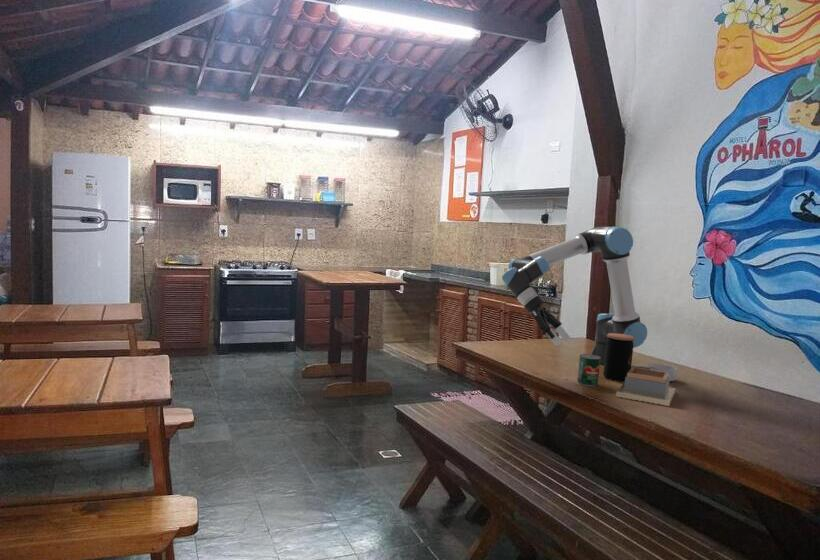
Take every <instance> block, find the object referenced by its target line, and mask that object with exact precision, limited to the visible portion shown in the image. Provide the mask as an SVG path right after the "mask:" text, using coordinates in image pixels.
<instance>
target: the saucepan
mask: <svg viewBox="0 0 820 560" xmlns="http://www.w3.org/2000/svg"><path fill="white" fill-rule="evenodd" d="M632 367H636V368H642V369H649V370H655V371H661V372H668V373H669V377H670V381H672V382H673V381H676V379H677V370H678V367H676V366H672V365H669V364H664V363H663V364H662V363H649V364H648V366H640V365H639V366H638V365H631V368H632Z"/></svg>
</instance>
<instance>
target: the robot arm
mask: <svg viewBox="0 0 820 560" xmlns="http://www.w3.org/2000/svg"><path fill="white" fill-rule="evenodd" d="M633 246H634V237H633V235H632V233H631V231H630V230H628V229H627V228H625V227H622V226H621V227H620V226H596V227H592V228H590V229H587V230H585V231H582V232H580V233H578V234H575V236H574V237H573V238H571V239H568V240H566V241H563V242H560V243H557V244H555V245H552V246H549V247H546V248H543V249H541V250H539V251H538V250H537V251H536V252H533V253H531V254H529V255H525V256H523V257H515V258H513V259H511V260H510V261H509V263H508V270H506V271H505V272H504V273H503V275H502V276H501V280H502V281H503V283H504V284H505V285H506V287H507V288H508V289H509V290H510V291H511V293H512V294H513V295H514V296H515V298H516V300H517V302H518V303H520V304H521V305H522V306H524V307H523V308H524V309H525V310H526V312H527V313H528V314H531V315H532V317H533V318H534V320H535V321H536V323H537V325H538V327H539V328H540V329H539V330H541V332H542V334H543V335H545V334H546V335H547V337H548V338H549V339H550V340H551V341H552V343H553V344H554V346H556V347H558V346H559V345H561V344H562V343H563V342H562V340H563V341H564V342H565V343H566V342H567V341H568V340H570V339H571V337H570V335H569V334H568V332H567V331H566V330H565V329H564V327H563V326H562V322H561V321H560V320H558V319H557V318H556V317H555V315H553V314H552V313H551V312H550V311H549V310H548V309H547V308H546V306H544V307H543V306H542V305H543V304H544V300H543V299H542V298H541V297H540V296H538V293H537V291H535V289H534V288H533V287H532V285H531V284H532V283H534V282H536V281H537V279H540V278H541V277H542V276H544V275H545V274H547V272H549V270H550V266H551V265H554V264H557V263H559V262H561V261H564V260H567V259H569V258H573V257H575V256H578V255H586V254H587V255H588V254H590V253H600V255H601V260H602V261H603V262H604V263H606V269H607V274H608V281H609V287H610V293H611V299H612V303H613V304H612V305H613V311H614V313H599V314H597V318H596V325H595V327H596V329H595V337H594V345H593V348H592V350H591V352H590V354H591V355H596V356H599V357H601V358H600V365H604V361H605V352H606V342H607V339H608V337H607V334H609V333H616V334H625V335H630V336H633V337H634V340H633V344H634V345H633V349H634V348H638V347H640V346H642V345H643V344H644V343H645V341H646V340H647V337H648V328H647V326H646V325H645V324H644V323H643V322H641V317H640V314H639V313H638V312H637V311H636V309H635V302H634V295H633V290H632V284H631V283H632V282H631V278H630V277H631V276H630V271H629V265H628V258H630V252H631V250H632V247H633ZM549 324H550V325H551V326H552V327H553V328H554V329H555V331H556V333H557V334H558V335H559V336H558V335H557V334H556V333H555V331H554V330H553V329H551V327H550V325H549Z"/></svg>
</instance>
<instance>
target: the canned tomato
mask: <svg viewBox="0 0 820 560" xmlns="http://www.w3.org/2000/svg"><path fill="white" fill-rule="evenodd" d="M600 358H601V357H599V356H596V355H591V353H590V354H589V353H581V354H579V360H578V371H577V372H578V373H577V381H576V383H577V384H578V385H582V386H585V385H586V386H587V387H596V386H595V385H597V386H598V385H599V376H600V368H601V367H600V365H601V364H600Z"/></svg>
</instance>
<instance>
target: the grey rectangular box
mask: <svg viewBox="0 0 820 560" xmlns="http://www.w3.org/2000/svg"><path fill="white" fill-rule="evenodd" d="M669 381H670V377H669V373H668V372H661V371H655V370H649V369H642V368H636V367H632V366H631V369H630V371H629V372H628V373H627V376H626V377H625V381H623V383H622V384H621V386H620V387H619V388H618V389H617V390H616V394H615V397H616V396H618V397H617V398H620V397H622V398H621V399H626V398H627V399H628V400H631V399H632V400H633V401H636V400H638V401H639V402H642V401H644V402H643V403H647V402H649V403H648V404H653V403H654V404H655V405H658V404H660V406H663V407H670V405H671V403H672V400H673V398H674V396H675V394H676V388H675V387H671V386H670V382H669ZM627 399H626V400H627ZM638 401H637V402H638ZM654 404H653V405H654Z"/></svg>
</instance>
